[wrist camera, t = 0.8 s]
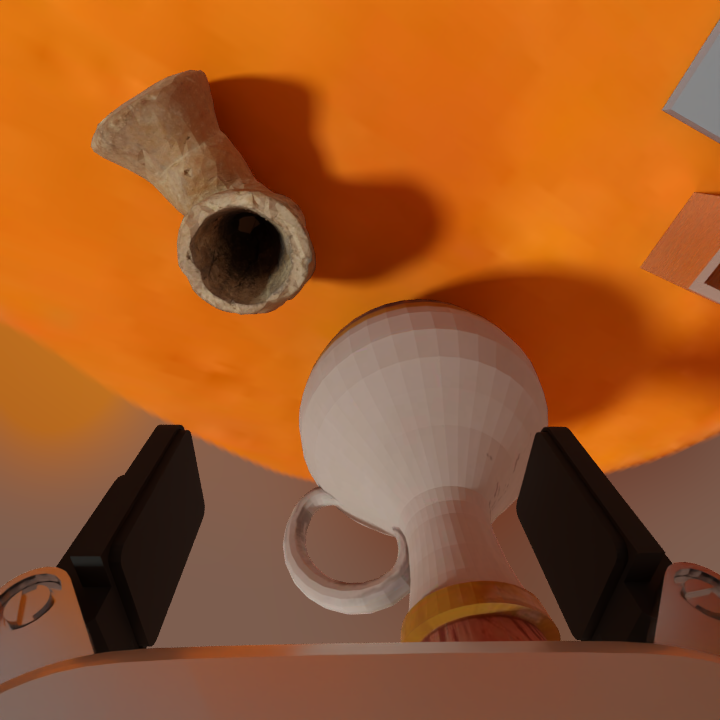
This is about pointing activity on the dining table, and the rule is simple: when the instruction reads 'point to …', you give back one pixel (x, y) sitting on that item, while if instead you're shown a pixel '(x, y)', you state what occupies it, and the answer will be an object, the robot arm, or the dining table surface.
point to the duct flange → (700, 90)
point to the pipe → (211, 197)
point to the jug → (423, 468)
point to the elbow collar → (691, 248)
